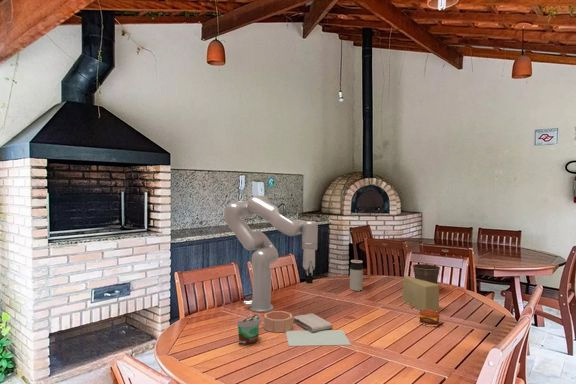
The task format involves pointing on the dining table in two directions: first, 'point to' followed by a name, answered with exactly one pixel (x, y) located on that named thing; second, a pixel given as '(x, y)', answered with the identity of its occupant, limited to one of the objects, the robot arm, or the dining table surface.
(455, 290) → the dining table surface
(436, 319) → the hamburger
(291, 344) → the mat
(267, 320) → the bowl
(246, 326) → the food container
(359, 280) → the travel mug
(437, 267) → the plant pot
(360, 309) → the dining table surface
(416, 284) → the olive green box
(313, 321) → the washcloth
